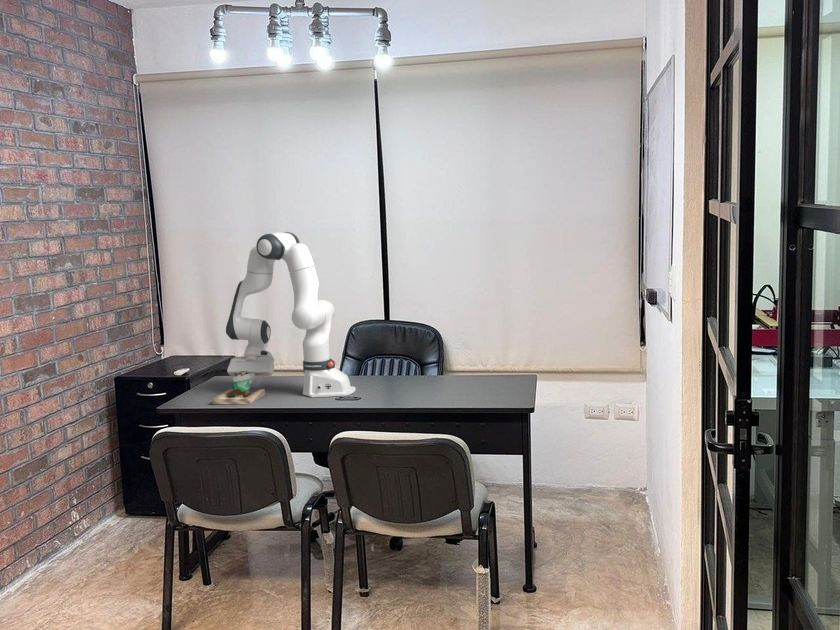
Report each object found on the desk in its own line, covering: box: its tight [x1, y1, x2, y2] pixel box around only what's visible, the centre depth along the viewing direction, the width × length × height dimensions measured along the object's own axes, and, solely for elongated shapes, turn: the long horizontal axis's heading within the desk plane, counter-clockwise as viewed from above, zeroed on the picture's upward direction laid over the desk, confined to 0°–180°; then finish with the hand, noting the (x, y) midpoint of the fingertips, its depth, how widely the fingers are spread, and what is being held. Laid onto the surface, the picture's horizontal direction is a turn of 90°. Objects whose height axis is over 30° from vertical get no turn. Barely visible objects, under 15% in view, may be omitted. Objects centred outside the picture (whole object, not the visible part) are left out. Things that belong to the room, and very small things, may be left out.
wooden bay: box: [211, 388, 266, 405], centre depth 340 cm, size 16×17×2 cm
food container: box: [232, 371, 251, 398], centre depth 345 cm, size 12×6×10 cm, turn 0°
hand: (246, 383), depth 349 cm, fingers closed
